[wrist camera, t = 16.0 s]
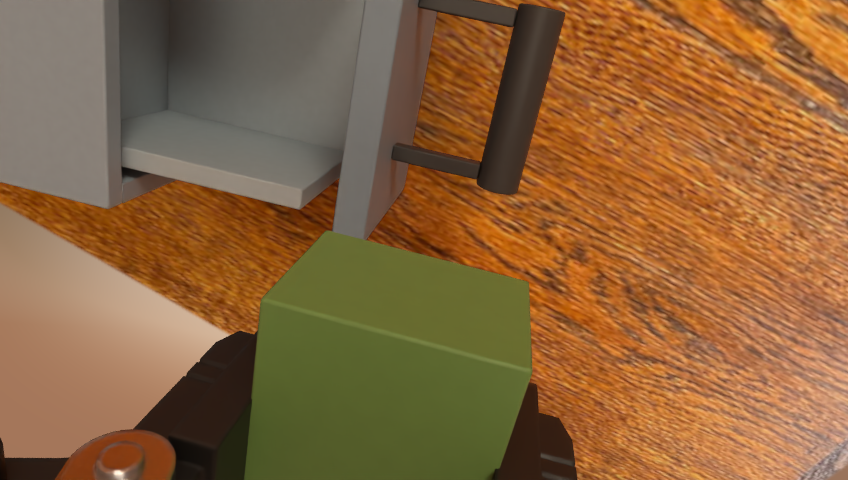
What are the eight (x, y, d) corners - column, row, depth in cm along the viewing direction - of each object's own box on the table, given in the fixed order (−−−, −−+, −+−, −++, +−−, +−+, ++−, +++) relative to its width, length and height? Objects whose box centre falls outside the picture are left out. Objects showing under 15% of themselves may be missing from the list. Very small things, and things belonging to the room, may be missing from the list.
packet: (326, 228, 10) (259, 298, 7) (529, 280, 10) (533, 371, 7) (292, 458, 12) (231, 573, 10) (459, 506, 12) (442, 638, 9)
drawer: (573, -48, 22) (599, -87, 15) (504, 213, 27) (498, 280, 19) (170, -128, 24) (17, -198, 16) (165, 132, 28) (42, 167, 21)
